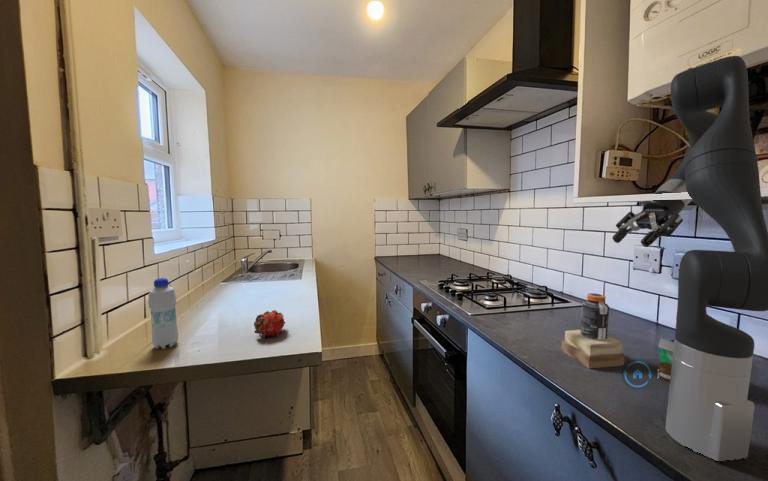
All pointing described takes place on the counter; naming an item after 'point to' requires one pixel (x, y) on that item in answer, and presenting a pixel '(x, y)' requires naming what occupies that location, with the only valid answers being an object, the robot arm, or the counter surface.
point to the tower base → (592, 358)
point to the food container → (666, 359)
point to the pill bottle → (595, 317)
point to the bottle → (163, 314)
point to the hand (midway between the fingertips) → (628, 242)
